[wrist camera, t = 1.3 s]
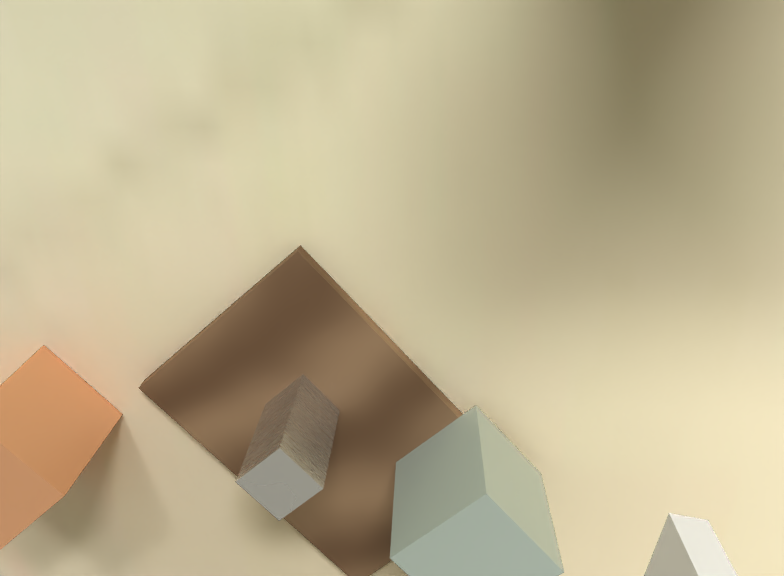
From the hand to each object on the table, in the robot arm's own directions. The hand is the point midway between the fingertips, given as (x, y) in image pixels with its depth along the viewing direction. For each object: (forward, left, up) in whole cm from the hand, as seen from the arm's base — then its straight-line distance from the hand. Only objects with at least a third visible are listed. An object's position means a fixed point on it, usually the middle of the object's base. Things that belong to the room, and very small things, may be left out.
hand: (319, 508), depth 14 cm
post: (+5, -9, -21) cm, 23 cm away
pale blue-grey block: (+13, -5, -21) cm, 25 cm away
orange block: (-3, -20, -21) cm, 29 cm away
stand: (+7, -9, -21) cm, 24 cm away
